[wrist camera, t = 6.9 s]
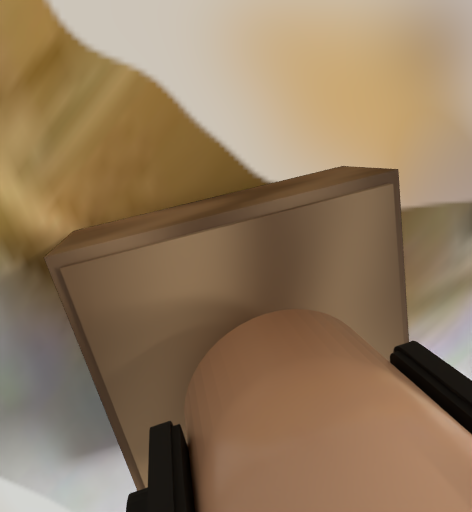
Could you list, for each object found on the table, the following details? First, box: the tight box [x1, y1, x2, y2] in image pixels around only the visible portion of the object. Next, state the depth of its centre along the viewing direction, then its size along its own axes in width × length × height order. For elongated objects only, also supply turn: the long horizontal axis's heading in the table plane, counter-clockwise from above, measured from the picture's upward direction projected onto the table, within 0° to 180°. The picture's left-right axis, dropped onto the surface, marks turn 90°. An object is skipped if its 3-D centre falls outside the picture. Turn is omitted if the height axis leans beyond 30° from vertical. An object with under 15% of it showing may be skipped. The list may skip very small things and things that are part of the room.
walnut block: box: [44, 166, 409, 491], centre depth 15 cm, size 12×11×4 cm
